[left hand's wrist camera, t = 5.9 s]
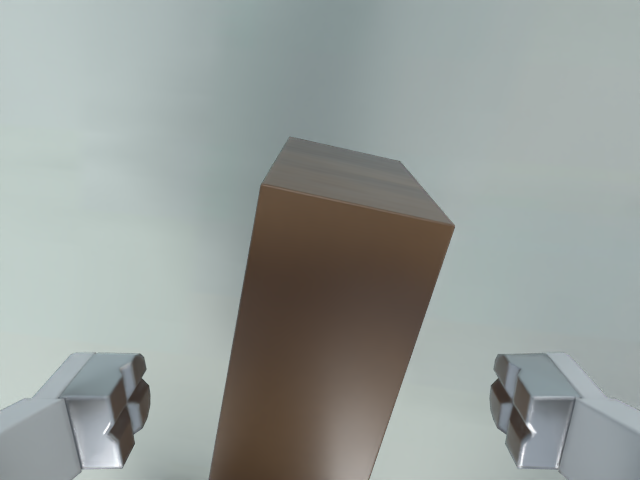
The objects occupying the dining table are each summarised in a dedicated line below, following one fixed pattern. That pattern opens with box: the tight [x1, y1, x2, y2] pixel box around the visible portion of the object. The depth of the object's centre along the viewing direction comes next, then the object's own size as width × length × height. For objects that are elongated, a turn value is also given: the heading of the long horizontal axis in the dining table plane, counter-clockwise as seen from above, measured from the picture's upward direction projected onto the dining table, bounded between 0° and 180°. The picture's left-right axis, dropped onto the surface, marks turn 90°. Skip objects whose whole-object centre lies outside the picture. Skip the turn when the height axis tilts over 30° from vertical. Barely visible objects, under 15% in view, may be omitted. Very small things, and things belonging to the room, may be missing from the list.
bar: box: [209, 137, 455, 480], centre depth 19 cm, size 24×5×9 cm, turn 168°
